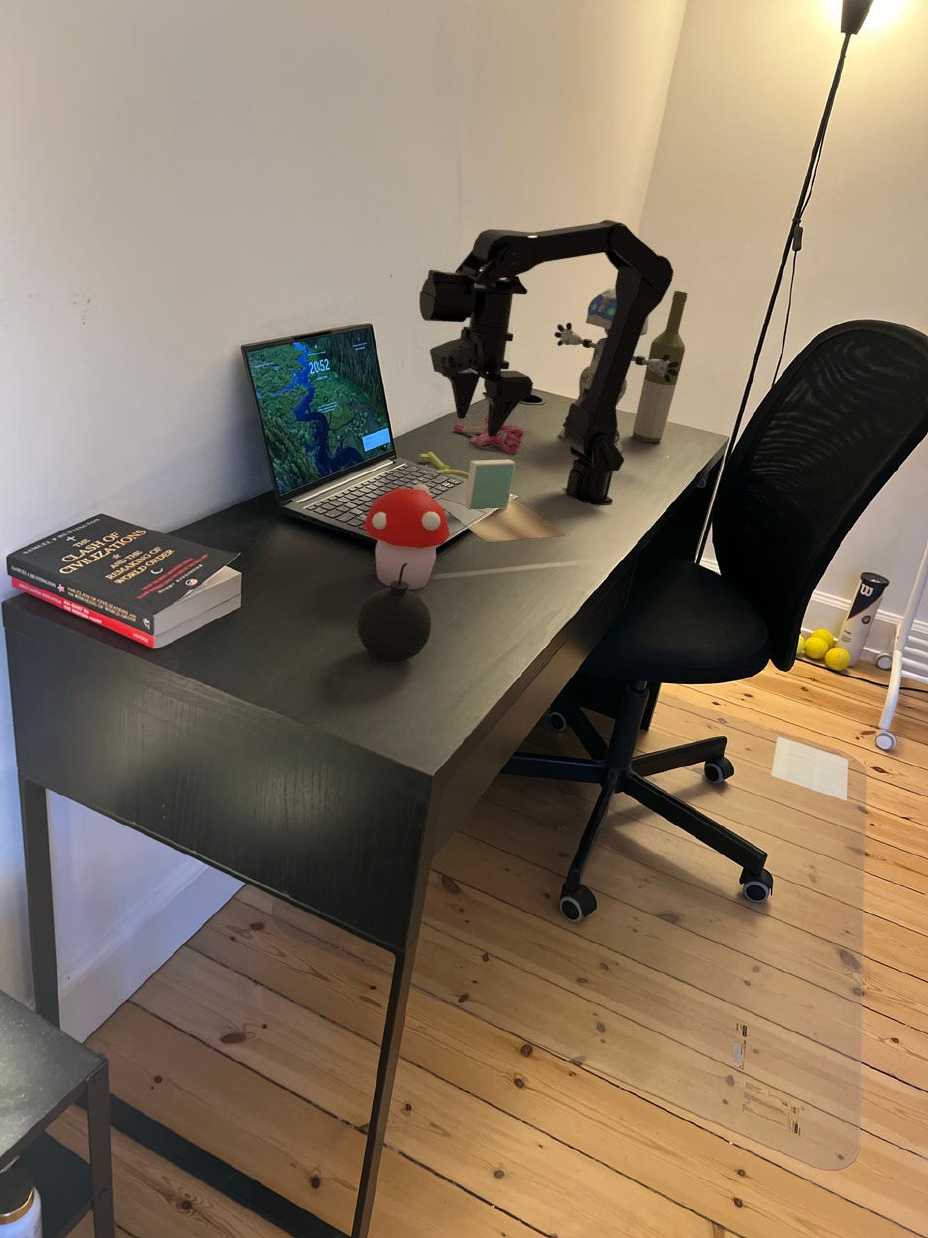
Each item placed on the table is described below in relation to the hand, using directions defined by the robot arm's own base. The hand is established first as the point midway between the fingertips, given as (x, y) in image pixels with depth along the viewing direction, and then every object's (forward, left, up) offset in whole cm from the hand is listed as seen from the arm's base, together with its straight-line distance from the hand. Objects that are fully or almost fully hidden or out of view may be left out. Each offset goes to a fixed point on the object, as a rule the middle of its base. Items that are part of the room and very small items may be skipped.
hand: (476, 427), depth 146 cm
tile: (-1, +5, -11) cm, 12 cm away
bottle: (-60, -27, -12) cm, 66 cm away
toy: (-19, -27, -12) cm, 35 cm away
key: (-2, -12, -13) cm, 17 cm away
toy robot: (-44, -25, -12) cm, 52 cm away
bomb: (+33, +42, -12) cm, 55 cm away
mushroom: (+23, +24, -12) cm, 36 cm away
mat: (-1, +9, -12) cm, 15 cm away
